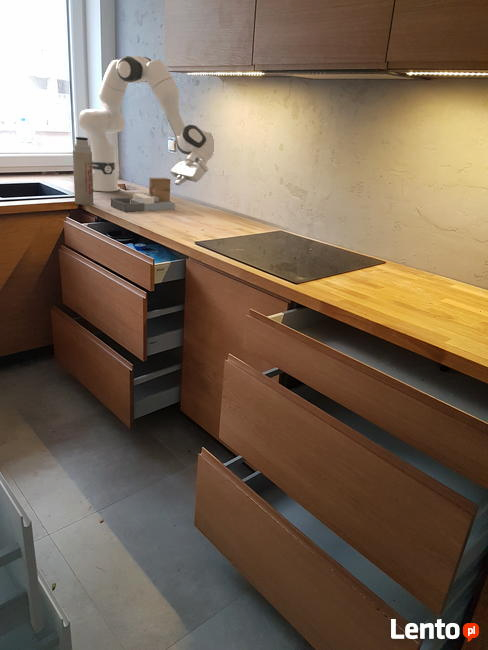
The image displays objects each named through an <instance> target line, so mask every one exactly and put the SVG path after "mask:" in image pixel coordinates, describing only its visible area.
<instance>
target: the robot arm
mask: <svg viewBox="0 0 488 650" xmlns="http://www.w3.org/2000/svg"><path fill="white" fill-rule="evenodd" d="M166 68H167V66H166V65H165V64H164V63H163V62H162V60H160V59H151V58H149V57H146V56H140V55H134V56H133V55H131V56H130V55H127V56H123V57H121V58H119V59H115V60H112V61H111V62H110V64H109V65H108V67H107V69H106V72H105V74H104V76H103V80H102V83H101V86H100V88H99V92H98V97H99V99H100V101H101V102H102V107H101V109H100V108H99V109H98V108H97V109H96V108H89V109H84V110H82V111H80V113H79V116H78V124H79V126H80V128H81V129H82V130H83V131H84V133H85V134H86V136H87V138H88V141H89V144H90V148H91V149H90V151H91V152H92V169H93V191H94V192H95V191H96V192H116V191H119V190H121V187H120V186H119V184H118V182H119V181H118V173H117V172H116V170H115V169H116V163H115V152H114V150H115V148H114V146H113V144H112V143H111V142H109V140H108V137H107V134H116V133H119V132H120V133H121V131H123V130H124V128H125V119H124V116H123V115H122V111H121V110H122V102H123V99H124V97H125V94H126V91H127V87H128V85H129V83H135V84H138V83H139V84H141V83H148V85H149V87H150V89H151V90H152V92H153V95H155V97H156V100H157V101H158V104H159V105H160V107H161V109H162V111H163V112H164V115H165V117H166V119H167V121H168V123H169V126H170V128H171V130H172V132H173V135H174V136H175V142H176V148H177V149H178V150H179V152H180V153H182V154H184V155H187V157H186V158H185V160H183V161H178V162H177V163H176V164H175V165H174V166H173V167H172V168H171V169H170V174H171V175H172V176H173V177H174V178H176V179H175V181H174V185H176V186H181V185H182V184H184V183H185V182H186V181H191V182H194V183H198V182H199V181H200V180H201V179H202V178H203V177H204V175H205V174H206V173H207V172H208V171H209V168H208V166H207V163H208V161H210V160H211V159H212V158H213V157H214V155H213V152H214V139H213V136H212V134H211V133H212V132H207V131H204V130H202V129H201V128H199V127H198V126H197V125H194V124H187V125H185V123H184V121H183V118H182V116H181V114H180V110H179V100H180V99H179V98H180V92H179V88H178V86H177V83H176V81H175V79H174V77H173V75H172V74H171V73H170V71H169V72H167V71H166ZM212 156H213V157H212Z"/></svg>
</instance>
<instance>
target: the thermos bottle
mask: <svg viewBox="0 0 488 650" xmlns="http://www.w3.org/2000/svg"><path fill="white" fill-rule="evenodd" d="M75 139H76V140H75V144H74V145H73V147H74V150H72V159H73V160H72V164H73V168H72V169H73V186H74V187H73V189H74V190H73V191H74V203H75V204H77V205H85V206H86V205H87V206H88V205H93V204H94V190H93V169H92V152H91V145H89V138H88V137H84V136H76V137H75Z"/></svg>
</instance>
